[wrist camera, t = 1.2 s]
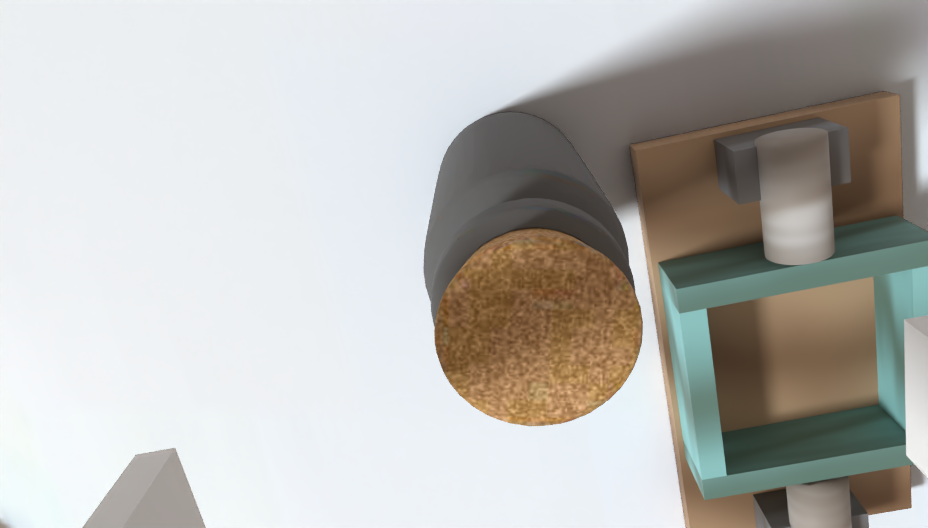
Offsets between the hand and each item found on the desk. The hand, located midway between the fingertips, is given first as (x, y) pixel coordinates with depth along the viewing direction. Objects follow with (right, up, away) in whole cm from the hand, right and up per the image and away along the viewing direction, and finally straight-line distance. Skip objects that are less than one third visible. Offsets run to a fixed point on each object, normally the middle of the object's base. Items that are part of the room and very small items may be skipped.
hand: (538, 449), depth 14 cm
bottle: (+1, +7, +18) cm, 19 cm away
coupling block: (+12, 0, +20) cm, 23 cm away
